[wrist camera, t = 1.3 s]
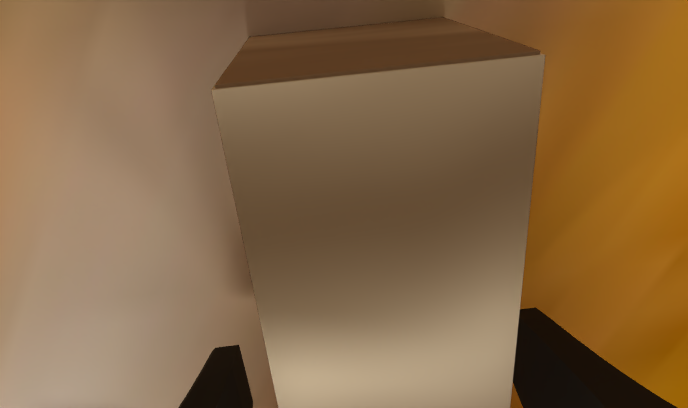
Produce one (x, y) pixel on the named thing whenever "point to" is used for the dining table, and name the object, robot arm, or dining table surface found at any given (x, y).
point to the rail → (384, 208)
